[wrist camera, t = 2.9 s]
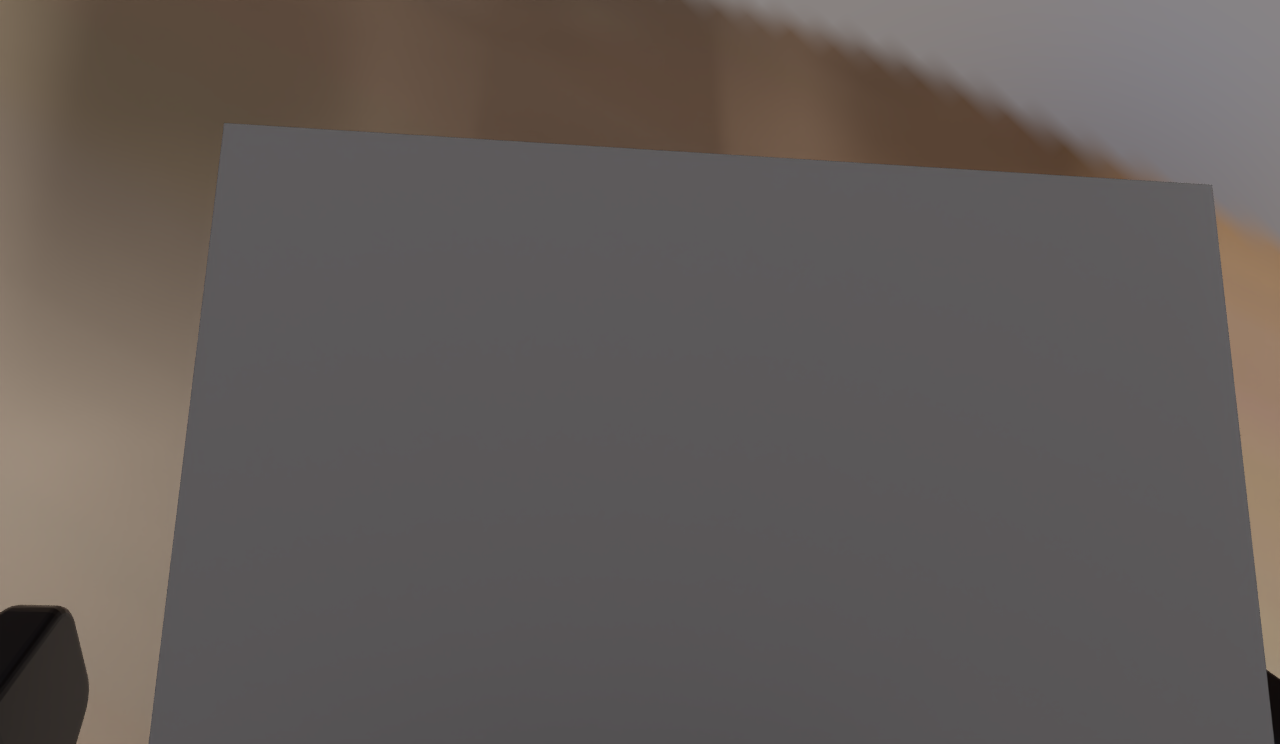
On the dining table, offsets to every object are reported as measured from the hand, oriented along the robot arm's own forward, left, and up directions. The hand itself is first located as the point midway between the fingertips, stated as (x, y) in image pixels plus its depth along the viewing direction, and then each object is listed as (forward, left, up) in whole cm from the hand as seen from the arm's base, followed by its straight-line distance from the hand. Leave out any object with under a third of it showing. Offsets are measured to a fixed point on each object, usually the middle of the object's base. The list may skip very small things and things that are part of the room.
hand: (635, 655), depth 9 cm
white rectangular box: (0, 0, -8) cm, 8 cm away
